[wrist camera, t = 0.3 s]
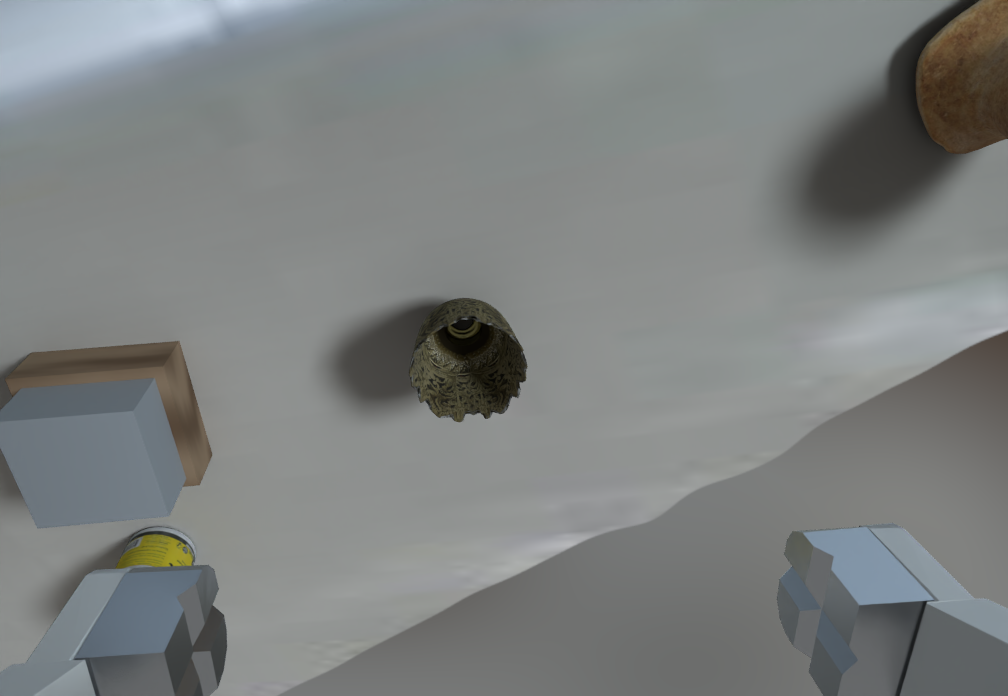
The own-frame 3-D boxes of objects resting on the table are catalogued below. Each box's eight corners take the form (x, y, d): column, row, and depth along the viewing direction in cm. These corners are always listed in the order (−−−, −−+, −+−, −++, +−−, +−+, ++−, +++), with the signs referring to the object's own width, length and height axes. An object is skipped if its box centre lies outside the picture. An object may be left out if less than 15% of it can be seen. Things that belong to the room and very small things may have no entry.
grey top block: (21, 388, 46) (-12, 422, 43) (154, 377, 47) (133, 411, 43) (64, 489, 50) (37, 528, 47) (186, 478, 51) (169, 516, 48)
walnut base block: (34, 350, 49) (4, 379, 46) (180, 338, 50) (163, 366, 47) (80, 464, 54) (56, 498, 51) (213, 452, 55) (199, 485, 51)
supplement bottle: (200, 573, 60) (163, 674, 52) (132, 572, 59) (83, 674, 51) (196, 525, 58) (157, 622, 49) (125, 522, 57) (73, 621, 48)
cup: (413, 365, 53) (412, 426, 46) (407, 273, 49) (406, 324, 42) (512, 361, 53) (526, 420, 46) (513, 270, 50) (529, 320, 43)
